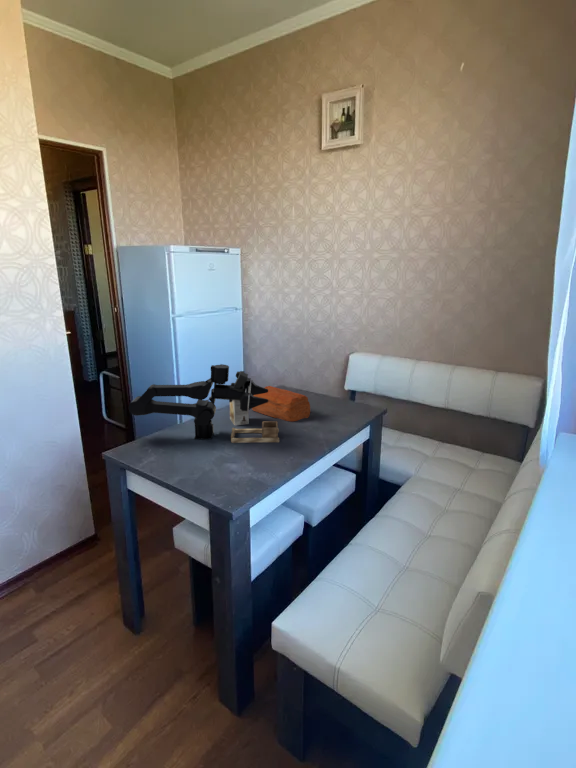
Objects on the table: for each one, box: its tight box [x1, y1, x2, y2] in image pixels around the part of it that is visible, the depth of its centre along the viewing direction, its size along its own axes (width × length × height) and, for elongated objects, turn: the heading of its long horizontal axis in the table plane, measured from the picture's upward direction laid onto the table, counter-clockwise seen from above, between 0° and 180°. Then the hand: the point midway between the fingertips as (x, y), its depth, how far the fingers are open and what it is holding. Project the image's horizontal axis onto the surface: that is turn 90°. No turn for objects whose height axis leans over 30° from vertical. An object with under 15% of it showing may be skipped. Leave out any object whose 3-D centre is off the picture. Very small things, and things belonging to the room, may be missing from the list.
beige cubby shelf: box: [230, 427, 280, 444], centre depth 164 cm, size 20×12×3 cm, turn 93°
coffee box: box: [229, 400, 250, 427], centre depth 179 cm, size 9×6×16 cm
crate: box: [261, 420, 279, 438], centre depth 164 cm, size 6×7×5 cm
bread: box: [251, 385, 311, 423], centre depth 192 cm, size 16×27×11 cm, turn 48°
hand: (268, 395), depth 163 cm, fingers open, 9 cm apart
